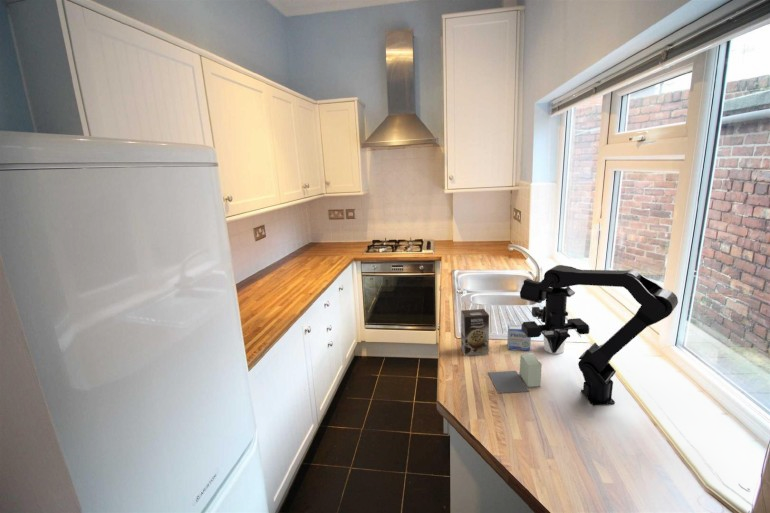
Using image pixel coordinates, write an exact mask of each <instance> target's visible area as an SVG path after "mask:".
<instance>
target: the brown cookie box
mask: <svg viewBox="0 0 770 513" xmlns="http://www.w3.org/2000/svg"><path fill="white" fill-rule="evenodd" d="M460 327H461V328H460V335H461V336H460V349H461V352H462V353H463V355H464V357H470V356H471V357H472V356H483V355H484V356H485V355H486V356H487V355H489V348H490V347H489V346H490V345H489V344H490V343H489V342H490V336H489V334H490V315H489V313H488V312H487V311H486V309H485V308H479V309H464V310H463V309H462V310H460Z"/></svg>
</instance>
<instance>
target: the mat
mask: <svg viewBox="0 0 770 513" xmlns="http://www.w3.org/2000/svg"><path fill="white" fill-rule="evenodd" d="M488 375H489V378H490V379H491V382H492V384H493V386H494V388H495V390H496V391H497V394H511V393H515V394H517V393H529V391H530V390H529V388H528V387H527V386H526V384H525V383H524V381H523V379H522V378H521V376H520V374H519V373H518V372H517V370H505V371H502V370H501V371H488Z"/></svg>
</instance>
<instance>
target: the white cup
mask: <svg viewBox="0 0 770 513" xmlns="http://www.w3.org/2000/svg"><path fill="white" fill-rule="evenodd" d="M542 325H545V323H543V324H542ZM542 336H543V349H544V351H546V352H547V353H548V354H553V355H560V354H561V355H562V354H563V353H564V350H565V346H566V340H567V339H566V340H565V341H564V342H563V343H562V344H561V346H560V347H559V348H558V350H557V351H556V353H552V351H551V349H550V346H549V343H548V340H547V338H546V337H545V336H544V335H543V334H542Z"/></svg>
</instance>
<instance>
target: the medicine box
mask: <svg viewBox="0 0 770 513" xmlns="http://www.w3.org/2000/svg"><path fill="white" fill-rule="evenodd" d="M521 326H522V324H507V348H508V350H510V351H531V346H532V345H531V343H532V342H531V341H532V337H531V338H530V337H527V336H526V334H525V333H524V332H523V331H522V329H521Z"/></svg>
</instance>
